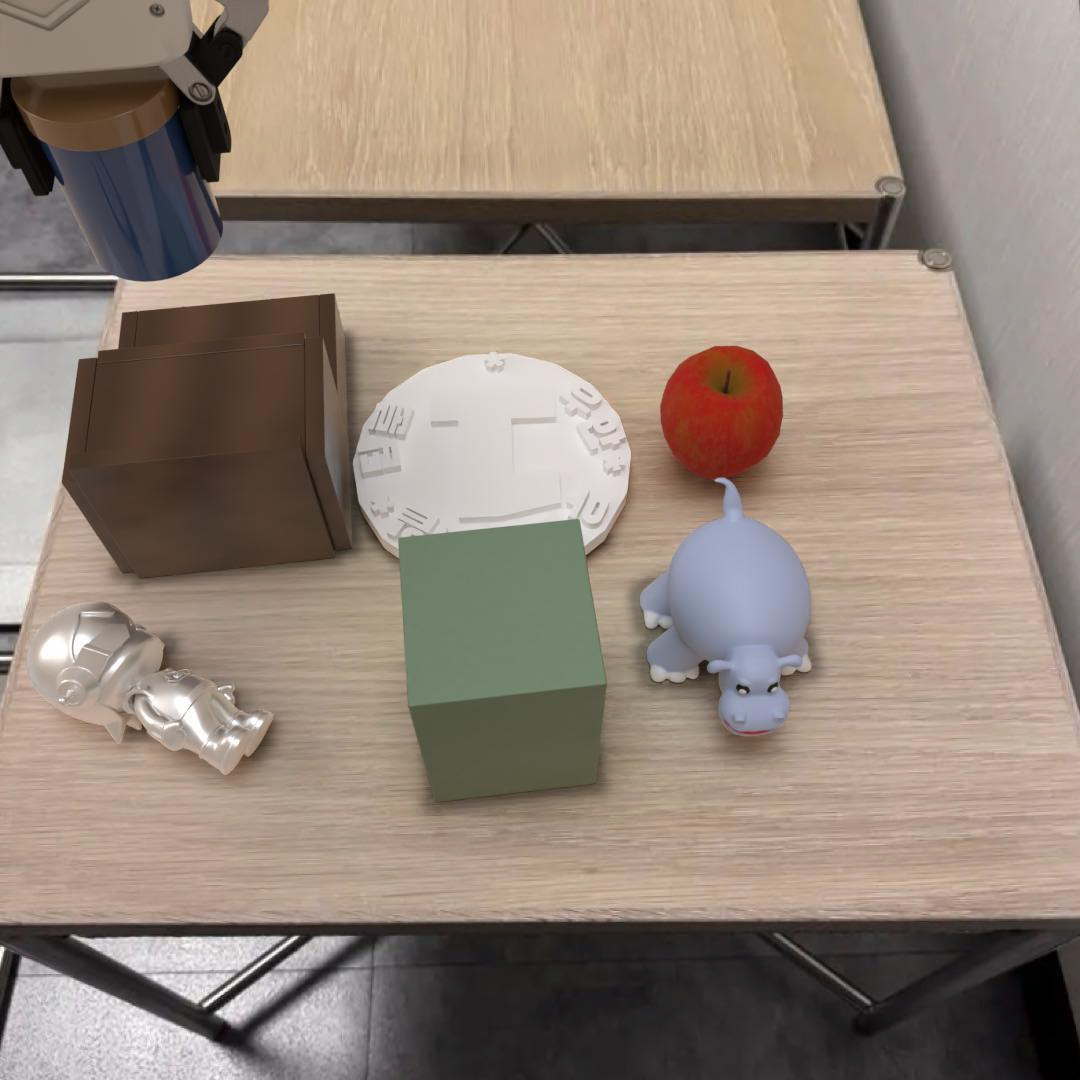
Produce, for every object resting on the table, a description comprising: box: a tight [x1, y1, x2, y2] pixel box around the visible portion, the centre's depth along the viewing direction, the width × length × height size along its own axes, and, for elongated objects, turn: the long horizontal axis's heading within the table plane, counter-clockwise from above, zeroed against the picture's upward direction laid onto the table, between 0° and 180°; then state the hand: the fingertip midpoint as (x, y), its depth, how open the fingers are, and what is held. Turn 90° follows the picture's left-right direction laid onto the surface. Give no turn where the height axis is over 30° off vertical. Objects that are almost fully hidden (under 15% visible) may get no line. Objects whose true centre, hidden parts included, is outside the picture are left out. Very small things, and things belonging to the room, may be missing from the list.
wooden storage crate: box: [61, 292, 353, 579], centre depth 75 cm, size 16×21×13 cm
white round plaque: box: [352, 350, 632, 559], centre depth 78 cm, size 20×20×3 cm
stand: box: [398, 519, 608, 803], centre depth 62 cm, size 10×10×15 cm
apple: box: [659, 345, 784, 481], centre depth 75 cm, size 9×8×11 cm
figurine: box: [26, 600, 274, 776], centre depth 66 cm, size 11×7×15 cm
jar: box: [10, 66, 224, 283], centre depth 49 cm, size 7×7×9 cm
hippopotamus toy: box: [639, 478, 812, 737], centre depth 67 cm, size 11×15×10 cm
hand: (130, 166), depth 49 cm, fingers closed on jar, 6 cm apart
